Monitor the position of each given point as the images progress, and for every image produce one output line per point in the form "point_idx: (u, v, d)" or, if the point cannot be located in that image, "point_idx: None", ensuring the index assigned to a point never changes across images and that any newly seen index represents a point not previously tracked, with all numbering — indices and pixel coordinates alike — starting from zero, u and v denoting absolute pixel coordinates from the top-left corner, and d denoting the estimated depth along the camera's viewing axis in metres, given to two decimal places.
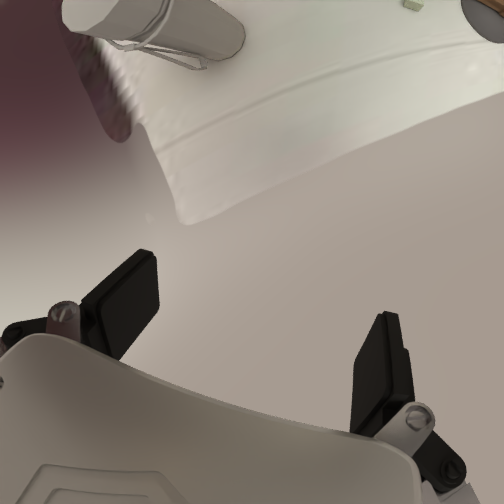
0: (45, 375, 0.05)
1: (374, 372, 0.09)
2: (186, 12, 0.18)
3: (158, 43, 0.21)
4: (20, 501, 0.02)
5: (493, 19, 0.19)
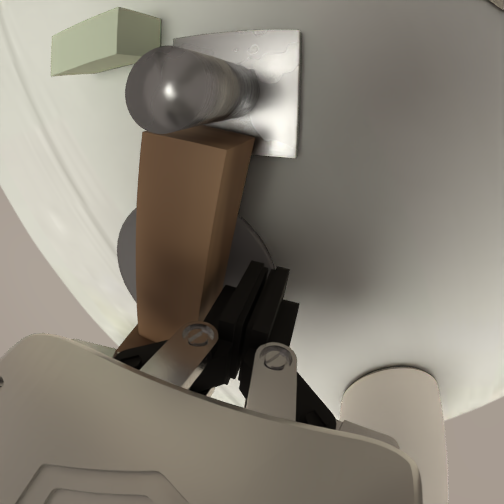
0: (45, 375, 0.05)
1: None
2: None
3: None
4: (20, 501, 0.02)
5: None
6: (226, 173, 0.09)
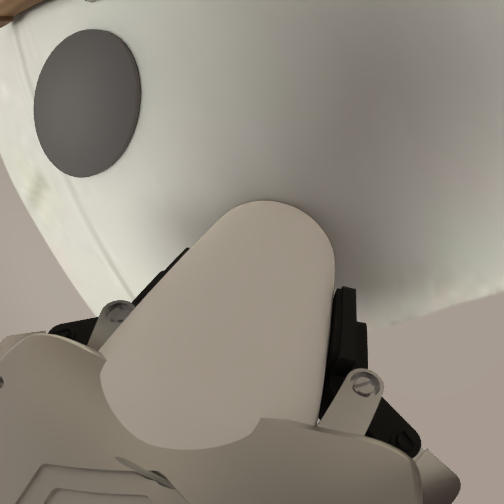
0: (45, 375, 0.05)
1: None
2: None
3: None
4: (20, 501, 0.02)
5: (67, 116, 0.14)
6: None
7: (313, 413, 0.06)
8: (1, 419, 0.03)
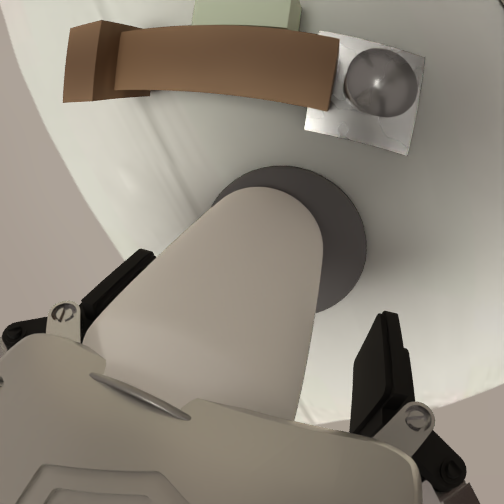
0: (45, 375, 0.05)
1: (374, 372, 0.09)
2: None
3: None
4: (20, 501, 0.02)
5: None
6: None
7: (299, 363, 0.08)
8: (1, 419, 0.03)
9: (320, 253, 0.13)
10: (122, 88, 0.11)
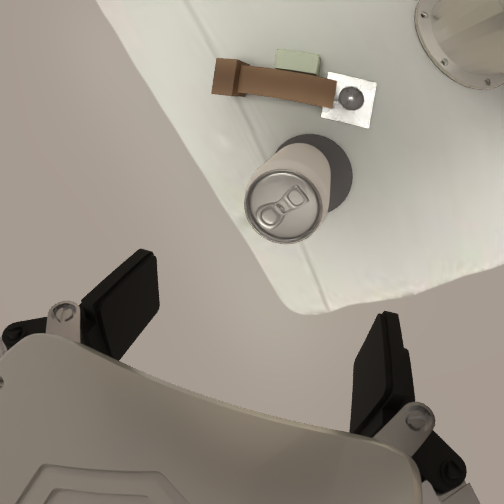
0: (45, 375, 0.05)
1: (374, 372, 0.09)
2: None
3: None
4: (20, 501, 0.02)
5: None
6: None
7: (328, 185, 0.22)
8: (1, 419, 0.03)
9: (329, 170, 0.28)
10: (242, 92, 0.26)
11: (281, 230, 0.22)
